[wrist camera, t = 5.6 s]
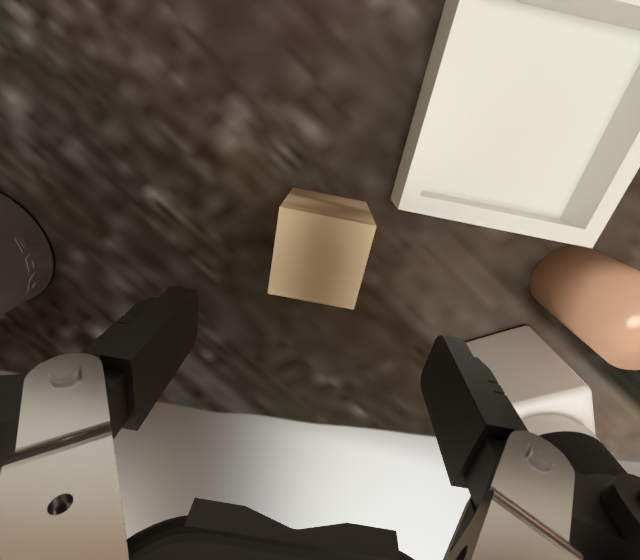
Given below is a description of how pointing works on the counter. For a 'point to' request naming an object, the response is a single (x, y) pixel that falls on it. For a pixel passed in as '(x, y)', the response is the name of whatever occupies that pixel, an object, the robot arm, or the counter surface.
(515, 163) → the white tray
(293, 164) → the counter surface
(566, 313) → the peach rounded capsule
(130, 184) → the counter surface
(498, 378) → the medicine bottle
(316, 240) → the maple block
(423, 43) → the counter surface
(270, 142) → the counter surface
